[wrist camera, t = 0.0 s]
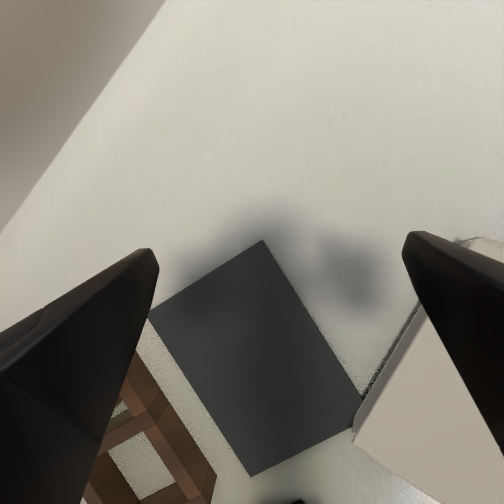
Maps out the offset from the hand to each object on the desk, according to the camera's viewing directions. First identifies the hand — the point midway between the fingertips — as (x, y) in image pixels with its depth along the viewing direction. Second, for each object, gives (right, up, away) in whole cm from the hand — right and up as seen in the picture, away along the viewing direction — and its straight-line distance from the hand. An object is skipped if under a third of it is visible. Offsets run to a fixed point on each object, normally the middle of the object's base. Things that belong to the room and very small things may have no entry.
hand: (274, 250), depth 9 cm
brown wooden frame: (-15, -18, +18) cm, 29 cm away
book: (+20, -11, +14) cm, 27 cm away
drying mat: (0, -11, +16) cm, 19 cm away
